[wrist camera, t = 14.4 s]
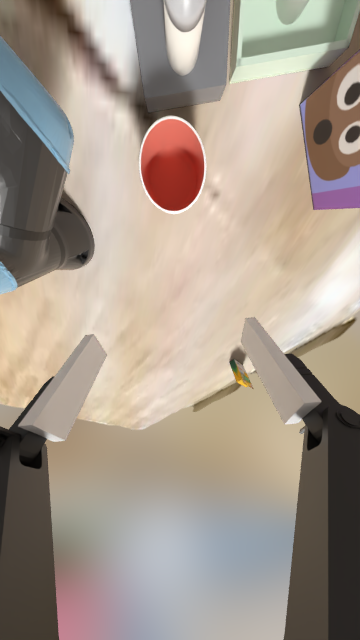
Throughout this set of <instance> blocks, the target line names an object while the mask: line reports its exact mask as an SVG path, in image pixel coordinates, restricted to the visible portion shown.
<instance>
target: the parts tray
mask: <svg viewBox="0 0 360 640" xmlns="http://www.w3.org/2000/svg"><path fill="white" fill-rule="evenodd" d="M359 12H360V0H309V2H308V4H307V5H306V7H305V8H304V10H303V12H302V13H301V15H300V16H299V18H298V19H297V20H296V21H295V22H293V23H292V24H289V25H285V24H283V23H282V22H281V21H280V20H279V18H278V15H277V10H276V0H234V8H233V26H232V44H231V62H230V80H229V84H231V83H237V82H243V81H249V80H254V79H260V78H266V77H272V76H278V75H283V74H289V73H295V72H301V71H306V70H312V69H318V68H324V67H329V66H330V65H331V64H332V63H333V62H334V61H335V60H336V59H337V58H338V57H339V56H340V55H341V54H342V53H343V52H344V51H345V50H346V49H347V48H348V47H349V44H350V41H351V38H352V35H353V31H354V28H355V25H356V22H357V19H358V15H359Z"/></svg>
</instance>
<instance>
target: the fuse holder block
mask: <svg viewBox="0 0 360 640" xmlns="http://www.w3.org/2000/svg"><path fill="white" fill-rule="evenodd" d="M130 4H131V10H132V17H133V24H134V30H135V37H136V44H137V50H138V57H139V64H140V71H141V77H142V84H143V91H144V97H145V102H146V106H147V110H148V113H149V112H155V111H161V110H167V109H173V108H179V107H185V106H191V105H197V104H203V103H209V102H214V101H220V99H221V96H222V94H223V91H224V89H225V86H226V77H227V57H228V36H229V15H230V0H130Z"/></svg>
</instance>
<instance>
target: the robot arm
mask: <svg viewBox="0 0 360 640" xmlns="http://www.w3.org/2000/svg"><path fill="white" fill-rule="evenodd" d="M73 144H74V135H73V130H72V127H71V125H70V122H69V120H68V118H67V116H66V115H65V113H64V112H63V110H62V109H61V107H60V106H59V105H58V104H57V102H56V101H55V100H54V99H53V97H52V96H51V95H50V94H49V92H48V91H47V90H46V89H45V88H44V86H43V85H42V84H41V83H40V82H39V80H38V79H37V78H36V77H35V76H34V74H33V73H32V72H31V71H30V70H29V69H28V67H27V66H26V65H25V64H24V63H23V61H22V60H21V59H20V58H19V57H18V56H17V54H16V53H15V52H14V51H13V50H12V49H11V47H10V46H9V45H8V44H7V43H6V42H5V40H4V39H3V38H2V37H1V36H0V294H3V293H6V292H11V291H13V290H16V289H17V287H20V286H22V285H24V284H26V283H28V282H30V281H32V280H35V279H37V278H39V277H41V276H43V275H45V274H48V273H50V272H52V271H54V270H74V269H78V268H81V267H82V266H84V265H86V264H87V263H89V261H90V260H91V259H92V257H93V254H94V239H93V236H92V233H91V230H90V228H89V226H88V224H87V223H86V221H85V220H84V218H83V217H82V216H81V214H80V213H79V212H78V211H77V210H76V209H75V208H74V207H73V206H72V205H70V204H69V203H68V202H66V201H65V200H63V199H62V198H61V195H62V192H63V188H64V184H65V181H66V177H67V173H68V174H69V173H70V169H69V163H70V158H71V153H72V148H73ZM241 343H242V345H243V347H244V349H245V351H246V352H247V354H248V356H249V358H250V360H251V362H252V364H253V366H254V368H255V370H256V371H257V373H258V375H259V377H260V379H261V381H262V383H263V385H264V386H265V388H266V390H267V392H268V394H269V396H270V398H271V400H272V402H273V404H274V405H275V407H276V409H277V411H278V413H279V415H280V417H281V419H282V421H283V422H284V424H293V423H299V422H300V421H301V420H302V419H303V421H304V422H305V424H306V425H305V426H304V427H303V428H302V429H301V430H300V432H299V433H301V434H302V433H304V441H303V452H302V462H301V473H300V483H299V493H298V503H297V513H296V525H295V534H294V544H293V554H292V565H291V576H290V586H289V595H288V606H287V616H286V627H285V635H284V640H360V415H359V414H357V413H356V412H355V411H353V410H352V409H350V408H348V407H346V406H343V405H341V404H339V403H338V402H337V401H336V400H335V399H334V398H333V396H332V395H331V394H330V393H329V392H328V391H327V390H326V388H325V387H324V386H323V385H322V384H321V383H320V382H319V381H318V379H317V378H316V377H315V376H314V375H312V372H311V371H310V370H309V369H307V367H306V366H305V364H304V363H303V362H302V361H301V360H300V359H299V358H297V357H296V356H294V355H293V354H284V353H283V352H282V351H281V350H280V348H279V347H278V346H277V345H276V343H275V342H274V341H273V340H272V338H271V337H270V336H269V335H268V333H267V332H266V331H265V330H264V328H263V327H262V326H261V324H260V323H259V322H258V321H257V319H256V318H255V317H253V318H245V323H244V328H243V333H242V337H241ZM106 356H107V354H106V352H105V351H104V349H103V348H102V346H101V344H100V343H99V341H98V340H97V338H96V337H95V335H94V334H92V335H85V337H84V338H83V339H82V341H81V342H80V343H79V345H78V346H77V347H76V349H75V350H74V351H73V353H72V354H71V355H70V357H69V358H68V359H67V361H66V362H65V363H64V365H63V366H62V367H61V369H60V370H59V371H58V373H57V374H56V375H55V376H54V377H52V378H50V379H49V380H48V381H47V382H46V383H45V384H44V385H43V386H42V388H41V389H40V390H39V392H38V393H37V394H36V395H35V397H34V398H33V400H32V401H31V402H30V403H29V404H28V406H27V407H26V408H25V410H24V411H23V412H22V413H21V415H20V416H19V417H18V419H17V420H16V421H15V423H14V424H13V425H12V426H11V427H10V429H9V430H8V429H5V428H3V427H0V640H59V636H58V620H57V604H56V587H55V571H54V555H53V539H52V523H51V507H50V492H49V474H48V458H47V447H46V444H44V443H45V441H46V440H47V439H49V440H51V441H54V442H55V441H65V440H66V438H67V436H68V434H69V432H70V430H71V428H72V426H73V424H74V422H75V420H76V418H77V416H78V414H79V412H80V410H81V408H82V406H83V403H84V401H85V399H86V397H87V395H88V393H89V391H90V389H91V387H92V385H93V383H94V381H95V379H96V377H97V375H98V373H99V370H100V368H101V366H102V364H103V362H104V360H105V358H106Z"/></svg>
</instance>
